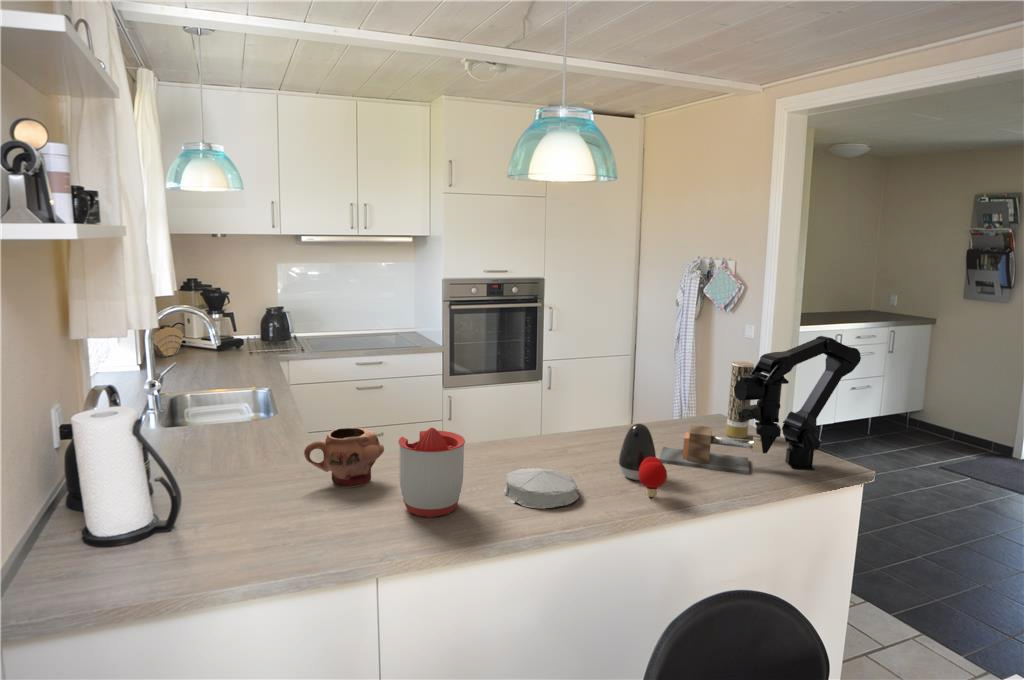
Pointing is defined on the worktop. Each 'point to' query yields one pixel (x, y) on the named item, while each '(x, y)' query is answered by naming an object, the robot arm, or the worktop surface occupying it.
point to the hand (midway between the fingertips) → (764, 451)
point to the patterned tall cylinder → (737, 402)
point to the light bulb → (652, 475)
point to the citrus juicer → (431, 472)
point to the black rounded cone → (635, 450)
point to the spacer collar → (686, 446)
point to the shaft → (739, 443)
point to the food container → (540, 488)
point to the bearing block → (704, 454)
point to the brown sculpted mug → (348, 455)
